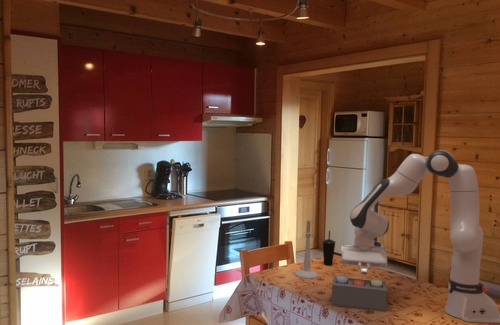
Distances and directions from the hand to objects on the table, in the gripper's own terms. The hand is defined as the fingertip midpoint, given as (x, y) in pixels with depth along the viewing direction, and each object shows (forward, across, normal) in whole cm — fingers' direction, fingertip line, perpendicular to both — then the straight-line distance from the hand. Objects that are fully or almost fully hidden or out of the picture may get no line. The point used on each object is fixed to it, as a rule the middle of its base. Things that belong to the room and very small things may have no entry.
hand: (363, 273), depth 191 cm
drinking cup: (-31, -18, +50) cm, 62 cm away
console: (+10, -2, +10) cm, 14 cm away
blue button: (+4, -10, +5) cm, 11 cm away
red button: (+5, -2, +6) cm, 8 cm away
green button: (+4, +5, +5) cm, 8 cm away
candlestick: (-14, -28, +33) cm, 46 cm away
